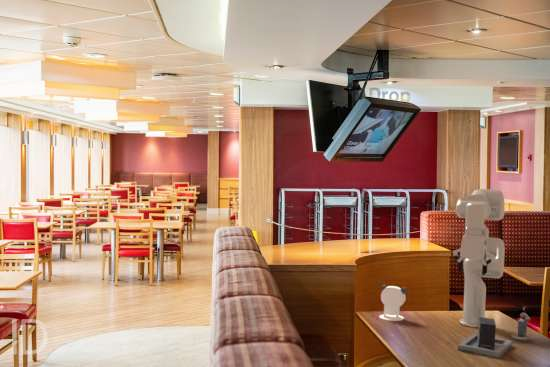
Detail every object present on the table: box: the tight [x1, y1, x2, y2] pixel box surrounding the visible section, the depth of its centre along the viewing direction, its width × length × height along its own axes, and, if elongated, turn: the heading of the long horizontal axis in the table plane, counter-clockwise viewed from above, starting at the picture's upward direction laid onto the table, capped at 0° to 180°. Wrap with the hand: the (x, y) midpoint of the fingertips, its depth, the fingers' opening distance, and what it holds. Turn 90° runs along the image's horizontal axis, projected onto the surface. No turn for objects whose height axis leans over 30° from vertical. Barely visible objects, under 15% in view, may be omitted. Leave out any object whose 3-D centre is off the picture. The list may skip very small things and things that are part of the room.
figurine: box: [510, 312, 533, 344], centre depth 280 cm, size 8×8×12 cm
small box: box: [477, 317, 497, 350], centre depth 267 cm, size 11×6×10 cm, turn 166°
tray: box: [457, 333, 513, 359], centre depth 267 cm, size 20×16×2 cm
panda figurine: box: [379, 284, 408, 322], centre depth 310 cm, size 12×11×15 cm
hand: (472, 273), depth 277 cm, fingers open, 9 cm apart
